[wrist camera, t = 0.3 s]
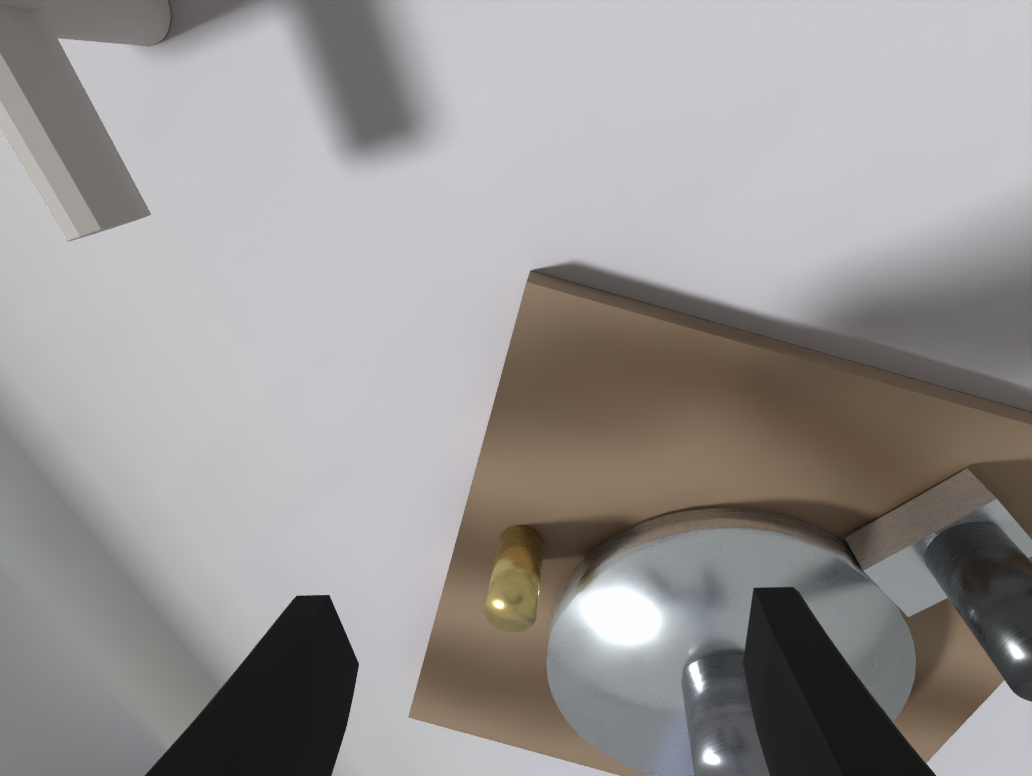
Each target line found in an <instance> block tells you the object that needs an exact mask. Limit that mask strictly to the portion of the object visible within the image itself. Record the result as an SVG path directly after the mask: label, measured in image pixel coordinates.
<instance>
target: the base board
mask: <svg viewBox="0 0 1032 776" xmlns="http://www.w3.org/2000/svg"><path fill="white" fill-rule="evenodd" d="M965 469H968V470H969V471H970V472H971V473H972V474H973V475H974V476H975V477H976V478H977V479H978V480H979V481H980V482H981V483H982V484H983V485H984V486H985V487H986V488H987V489H988V490H989V491H990V492H991V493H992V494H993V495H994V496H995V497H996V498H997V499H998V501H999V502H1000V503H1001V504H1002V505H1003V506H1004V508H1005V509H1006V510H1007V511H1008V512H1009V514H1010V515H1011V516H1012V517H1013V518H1014V519H1015V521H1016V522H1017V523H1018V524H1019V525H1020V527H1021V528H1022V529H1023V530H1024V531H1025V532H1026V534H1027V535H1028V536H1029V537H1030V538H1031V540H1032V412H1028V411H1025V410H1021V409H1018V408H1014V407H1010V406H1007V405H1003V404H1000V403H996V402H993V401H989V400H986V399H982V398H979V397H975V396H972V395H968V394H965V393H961V392H958V391H954V390H950V389H947V388H943V387H940V386H936V385H933V384H929V383H926V382H922V381H919V380H915V379H912V378H908V377H905V376H901V375H898V374H894V373H890V372H887V371H883V370H880V369H876V368H873V367H869V366H866V365H862V364H859V363H855V362H852V361H848V360H845V359H841V358H838V357H834V356H830V355H827V354H823V353H820V352H816V351H813V350H809V349H806V348H802V347H799V346H795V345H792V344H788V343H785V342H781V341H778V340H774V339H770V338H767V337H763V336H760V335H756V334H753V333H749V332H746V331H742V330H739V329H735V328H732V327H728V326H725V325H721V324H718V323H714V322H711V321H707V320H703V319H700V318H696V317H693V316H689V315H686V314H682V313H679V312H675V311H672V310H668V309H665V308H661V307H658V306H654V305H651V304H647V303H643V302H640V301H636V300H633V299H629V298H626V297H622V296H619V295H615V294H612V293H608V292H605V291H601V290H598V289H594V288H591V287H587V286H583V285H580V284H576V283H573V282H569V281H566V280H562V279H559V278H555V277H552V276H548V275H545V274H541V273H538V272H534V271H530V274H529V277H528V280H527V283H526V286H525V290H524V294H523V297H522V301H521V305H520V308H519V312H518V316H517V319H516V323H515V327H514V330H513V334H512V338H511V342H510V345H509V349H508V353H507V356H506V360H505V364H504V367H503V371H502V375H501V378H500V382H499V386H498V389H497V393H496V397H495V400H494V404H493V408H492V411H491V415H490V419H489V423H488V426H487V430H486V434H485V437H484V441H483V445H482V448H481V452H480V456H479V459H478V463H477V467H476V470H475V474H474V478H473V481H472V485H471V489H470V492H469V496H468V500H467V503H466V507H465V511H464V515H463V518H462V522H461V526H460V529H459V533H458V537H457V540H456V544H455V548H454V551H453V555H452V559H451V562H450V566H449V570H448V573H447V577H446V581H445V584H444V588H443V592H442V596H441V599H440V603H439V607H438V610H437V614H436V618H435V621H434V625H433V629H432V632H431V636H430V640H429V643H428V647H427V651H426V654H425V658H424V662H423V665H422V669H421V673H420V676H419V680H418V684H417V688H416V691H415V695H414V699H413V702H412V706H411V710H410V713H409V718H413V719H416V720H420V721H424V722H427V723H431V724H435V725H438V726H442V727H445V728H449V729H453V730H456V731H460V732H464V733H467V734H471V735H475V736H478V737H482V738H486V739H489V740H493V741H497V742H500V743H504V744H507V745H511V746H515V747H518V748H522V749H526V750H529V751H533V752H537V753H540V754H544V755H548V756H551V757H555V758H559V759H562V760H566V761H569V762H573V763H577V764H580V765H584V766H588V767H591V768H595V769H599V770H602V771H606V772H610V773H613V774H617V775H621V776H650V775H647V774H644V773H641V772H639V771H636V770H634V769H632V768H629V767H627V766H624V765H622V764H620V763H619V762H617V761H615V760H613V759H611V758H609V757H608V756H606V755H604V754H603V753H602V752H600V751H599V750H597V749H596V748H594V747H593V746H591V745H590V744H589V743H588V742H587V741H586V740H584V739H583V738H582V737H581V736H580V735H579V734H578V733H577V732H576V731H575V730H574V729H573V728H572V726H571V725H570V724H569V723H568V722H567V721H566V719H565V718H564V716H563V715H562V713H561V712H560V710H559V708H558V706H557V704H556V702H555V700H554V698H553V696H552V693H551V689H550V686H549V682H548V677H547V664H546V662H547V650H548V638H549V627H550V617H551V612H552V608H553V605H554V602H555V598H556V596H557V594H558V592H559V590H560V588H561V586H562V584H563V583H564V581H565V580H566V578H567V577H568V576H569V574H570V573H571V571H572V570H573V569H574V568H575V567H576V566H577V565H578V564H579V563H580V562H581V561H582V560H583V558H584V557H585V556H586V555H588V554H589V553H590V552H591V551H593V550H594V549H595V548H597V547H598V546H599V545H600V544H602V543H603V542H605V541H607V540H608V539H610V538H612V537H613V536H615V535H617V534H618V533H620V532H622V531H624V530H627V529H629V528H631V527H633V526H636V525H638V524H640V523H643V522H646V521H649V520H652V519H655V518H658V517H662V516H665V515H670V514H675V513H680V512H685V511H690V510H701V509H711V508H740V509H749V510H758V511H766V512H771V513H775V514H780V515H784V516H789V517H792V518H795V519H797V520H800V521H803V522H806V523H809V524H812V525H814V526H816V527H818V528H820V529H822V530H824V531H826V532H829V533H831V534H833V535H834V536H836V537H837V538H839V539H840V540H842V541H843V542H845V543H846V544H848V543H847V541H846V539H845V537H847V536H849V535H851V534H852V533H854V532H856V531H858V530H860V529H861V528H863V527H865V526H867V525H868V524H870V523H872V522H874V521H875V520H877V519H879V518H881V517H882V516H884V515H886V514H888V513H889V512H891V511H893V510H895V509H896V508H898V507H900V506H902V505H904V504H905V503H907V502H909V501H911V500H912V499H914V498H916V497H918V496H919V495H921V494H923V493H925V492H926V491H928V490H930V489H932V488H933V487H935V486H937V485H939V484H940V483H942V482H944V481H946V480H947V479H949V478H951V477H953V476H955V475H956V474H958V473H960V472H962V471H963V470H965ZM514 525H525V526H529V527H531V528H533V529H535V530H536V531H538V532H539V533H540V535H541V536H542V538H543V540H544V553H543V562H542V571H541V580H540V590H539V599H538V608H537V618H536V621H535V623H534V624H533V625H532V626H531V627H530V628H529V629H527V630H525V631H522V632H515V633H513V632H505V631H502V630H499V629H497V628H495V627H494V626H493V625H491V624H490V623H489V621H488V620H487V619H486V616H485V613H484V609H485V604H486V599H487V594H488V589H489V585H490V580H491V575H492V570H493V565H494V561H495V556H496V551H497V546H498V542H499V537H500V535H501V533H502V532H503V531H504V530H505V529H506V528H508V527H511V526H514ZM1029 559H1030V561H1031V562H1032V557H1030V558H1029ZM896 606H897V605H896ZM897 608H898V609H899V611H900V613H901V615H902V616H903V618H904V620H905V622H906V623H907V625H908V627H909V630H910V633H911V636H912V639H913V642H914V648H915V656H916V668H915V679H914V682H913V685H912V689H911V692H910V695H909V697H908V699H907V701H906V703H905V705H904V707H903V709H902V711H901V712H900V714H899V715H898V716H897V718H896V719H895V720H894V722H893V723H894V724H895V726H896V727H897V728H898V730H899V731H900V732H901V733H902V735H903V736H904V737H905V738H906V740H907V741H908V742H909V743H910V745H911V746H912V747H913V748H914V749H915V751H916V752H917V753H918V754H919V756H920V757H921V758H922V759H923V761H924V762H925V763H927V761H928V760H929V759H930V758H931V757H932V756H933V755H934V754H935V753H936V752H937V751H938V750H939V749H940V748H941V747H942V746H943V745H944V743H945V742H946V741H947V740H948V739H949V738H950V737H951V736H952V735H953V734H954V733H955V732H956V731H957V730H958V729H959V728H960V727H961V725H962V724H963V723H964V722H965V721H966V720H967V719H968V718H969V717H970V716H971V715H972V714H973V713H974V712H975V711H976V710H977V709H978V708H979V706H980V705H981V704H982V703H983V702H984V701H985V700H986V699H987V698H988V697H989V696H990V695H991V694H992V693H993V692H994V691H995V690H996V688H997V687H998V686H999V685H1000V684H1001V683H1002V682H1003V681H1004V678H1003V677H1002V675H1001V674H1000V672H999V671H998V669H997V668H996V667H995V665H994V664H993V662H992V661H991V659H990V658H989V656H988V655H987V654H986V652H985V651H984V649H983V648H982V646H981V645H980V643H979V642H978V641H977V639H976V638H975V636H974V635H973V633H972V632H971V630H970V629H969V627H968V626H967V625H966V623H965V622H964V620H963V619H962V617H961V616H960V614H959V613H958V612H957V610H956V609H955V607H954V606H953V604H952V603H951V601H950V600H949V599H948V598H946V599H944V600H942V601H940V602H938V603H936V604H934V605H932V606H930V607H928V608H926V609H924V610H922V611H920V612H918V613H916V614H914V615H912V616H910V617H908V616H907V615H906V614H905V613H904V612H903V611H902V610H901V609H900V608H899V607H898V606H897Z"/></svg>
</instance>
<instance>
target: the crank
mask: <svg viewBox="0 0 1032 776" xmlns="http://www.w3.org/2000/svg"><path fill="white" fill-rule="evenodd" d="M845 539H846V541H847V543H848V544H846V543H845V542H843V541H842V540H840V539H839V538H837V537H836V536H834V535H833V534H831V533H829V532H826V531H824V530H822V529H820V528H818V527H816V526H814V525H812V524H809V523H806V522H803V521H800V520H797V519H795V518H792V517H789V516H784V515H780V514H775V513H771V512H766V511H758V510H749V509H740V508H711V509H701V510H690V511H685V512H680V513H675V514H670V515H665V516H662V517H658V518H655V519H652V520H649V521H646V522H643V523H640V524H638V525H636V526H633V527H631V528H629V529H627V530H624V531H622V532H620V533H618V534H617V535H615V536H613V537H612V538H610V539H608V540H607V541H605V542H603V543H602V544H600V545H599V546H598V547H597V548H595V549H594V550H593V551H591V552H590V553H589V554H588V555H586V556H585V557H584V558H583V560H582V561H581V562H580V563H579V564H578V565H577V566H576V567H575V568H574V569H573V570H572V571H571V573H570V574H569V576H568V577H567V578H566V580H565V581H564V583H563V584H562V586H561V588H560V590H559V592H558V594H557V596H556V598H555V602H554V605H553V608H552V612H551V617H550V627H549V638H548V650H547V662H546V664H547V677H548V682H549V686H550V689H551V693H552V696H553V698H554V700H555V702H556V704H557V706H558V708H559V710H560V712H561V713H562V715H563V716H564V718H565V719H566V721H567V722H568V723H569V724H570V725H571V726H572V728H573V729H574V730H575V731H576V732H577V733H578V734H579V735H580V736H581V737H582V738H583V739H584V740H586V741H587V742H588V743H589V744H590V745H591V746H593V747H594V748H596V749H597V750H599V751H600V752H602V753H603V754H604V755H606V756H608V757H609V758H611V759H613V760H615V761H617V762H619V763H620V764H622V765H624V766H627V767H629V768H632V769H634V770H636V771H639V772H641V773H644V774H647V775H650V776H694V770H693V763H692V756H691V749H690V742H689V735H688V728H687V722H686V715H685V708H684V701H683V694H682V687H681V679H682V675H683V673H684V672H685V670H686V669H687V668H688V667H689V666H690V665H691V664H692V663H694V662H695V661H697V660H699V659H701V658H704V657H707V656H711V655H717V654H731V655H737V656H742V657H744V651H745V644H746V637H747V630H748V623H749V616H750V608H751V601H752V594H753V588H759V587H794V588H795V589H796V590H797V591H799V593H800V594H801V596H802V597H803V599H804V600H805V602H806V603H807V605H808V607H809V608H810V610H811V611H812V613H813V614H814V616H815V617H816V619H817V620H818V622H819V623H820V624H821V626H822V627H823V629H824V630H825V632H826V633H827V635H828V636H829V637H830V639H831V640H832V642H833V643H834V645H835V646H836V647H837V649H838V650H839V652H840V653H841V654H842V656H843V657H844V659H845V660H846V661H847V663H848V664H849V665H850V667H851V668H852V670H853V671H854V672H855V674H856V675H857V676H858V678H859V679H860V680H861V682H862V683H863V684H864V686H865V687H866V688H867V690H868V691H869V692H870V694H871V695H872V696H873V698H874V699H875V700H876V701H877V703H878V704H879V705H880V707H881V708H882V709H883V710H884V712H885V713H886V714H887V715H888V717H889V718H890V719H891V721H892V722H894V720H895V719H896V718H897V716H898V715H899V714H900V712H901V711H902V709H903V707H904V705H905V703H906V701H907V699H908V697H909V695H910V692H911V689H912V685H913V682H914V679H915V668H916V656H915V648H914V642H913V639H912V636H911V633H910V630H909V627H908V625H907V623H906V622H905V620H904V618H903V616H902V615H901V613H900V611H899V609H898V608H897V606H898V607H899V608H900V609H901V610H902V611H903V612H904V613H905V614H906V615H907V616H908V617H910V616H912V615H914V614H916V613H918V612H920V611H922V610H924V609H926V608H928V607H930V606H932V605H934V604H936V603H938V602H940V601H942V600H944V599H946V598H948V599H949V600H950V601H951V603H952V604H953V606H954V607H955V609H956V610H957V612H958V613H959V614H960V616H961V617H962V619H963V620H964V622H965V623H966V625H967V626H968V627H969V629H970V630H971V632H972V633H973V635H974V636H975V638H976V639H977V641H978V642H979V643H980V645H981V646H982V648H983V649H984V651H985V652H986V654H987V655H988V656H989V658H990V659H991V661H992V662H993V664H994V665H995V667H996V668H997V669H998V671H999V672H1000V674H1001V675H1002V677H1003V678H1004V680H1005V681H1006V682H1007V684H1008V685H1009V687H1010V688H1011V689H1012V691H1013V692H1014V693H1015V694H1017V695H1018V696H1020V697H1021V698H1023V699H1026V700H1028V701H1031V702H1032V562H1031V561H1030V559H1029V558H1030V557H1032V540H1031V538H1030V537H1029V536H1028V535H1027V534H1026V532H1025V531H1024V530H1023V529H1022V528H1021V527H1020V525H1019V524H1018V523H1017V522H1016V521H1015V519H1014V518H1013V517H1012V516H1011V515H1010V514H1009V512H1008V511H1007V510H1006V509H1005V508H1004V506H1003V505H1002V504H1001V503H1000V502H999V501H998V499H997V498H996V497H995V496H994V495H993V494H992V493H991V492H990V491H989V490H988V489H987V488H986V487H985V486H984V485H983V484H982V483H981V482H980V481H979V480H978V479H977V478H976V477H975V476H974V475H973V474H972V473H971V472H970V471H969V470H968V469H965V470H963V471H962V472H960V473H958V474H956V475H955V476H953V477H951V478H949V479H947V480H946V481H944V482H942V483H940V484H939V485H937V486H935V487H933V488H932V489H930V490H928V491H926V492H925V493H923V494H921V495H919V496H918V497H916V498H914V499H912V500H911V501H909V502H907V503H905V504H904V505H902V506H900V507H898V508H896V509H895V510H893V511H891V512H889V513H888V514H886V515H884V516H882V517H881V518H879V519H877V520H875V521H874V522H872V523H870V524H868V525H867V526H865V527H863V528H861V529H860V530H858V531H856V532H854V533H852V534H851V535H849V536H847V537H845ZM896 605H897V606H896Z"/></svg>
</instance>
